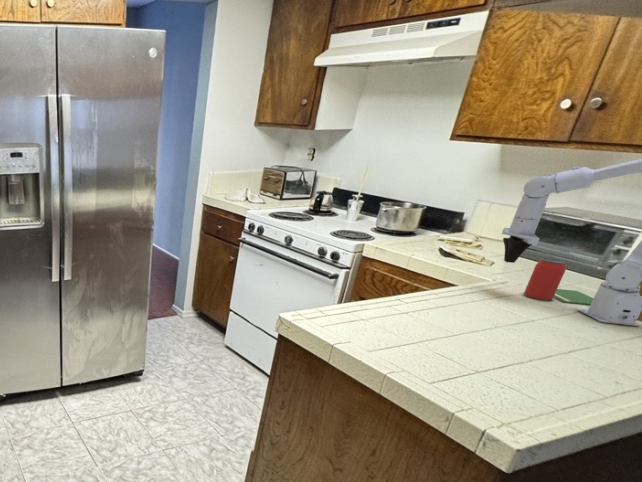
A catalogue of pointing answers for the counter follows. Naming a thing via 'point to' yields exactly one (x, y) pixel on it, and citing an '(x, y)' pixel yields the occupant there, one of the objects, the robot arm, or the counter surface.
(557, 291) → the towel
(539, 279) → the beer can
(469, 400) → the counter surface
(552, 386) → the counter surface
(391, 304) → the counter surface
